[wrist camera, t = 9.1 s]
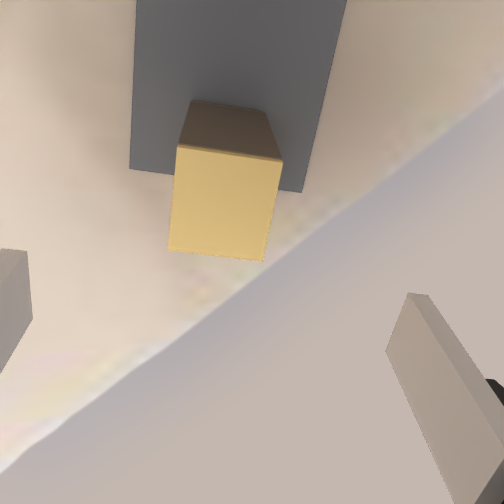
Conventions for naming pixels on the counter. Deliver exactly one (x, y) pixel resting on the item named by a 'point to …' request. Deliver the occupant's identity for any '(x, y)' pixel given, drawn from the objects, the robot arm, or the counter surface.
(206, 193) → the stub
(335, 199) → the counter surface
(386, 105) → the counter surface
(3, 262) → the robot arm
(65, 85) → the counter surface
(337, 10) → the mat
